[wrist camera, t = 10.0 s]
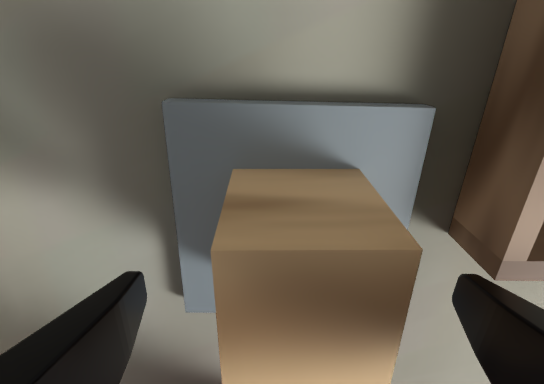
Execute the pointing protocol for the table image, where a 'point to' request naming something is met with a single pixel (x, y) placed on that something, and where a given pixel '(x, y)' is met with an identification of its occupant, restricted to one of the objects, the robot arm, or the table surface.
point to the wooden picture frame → (509, 161)
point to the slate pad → (280, 160)
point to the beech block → (310, 278)
